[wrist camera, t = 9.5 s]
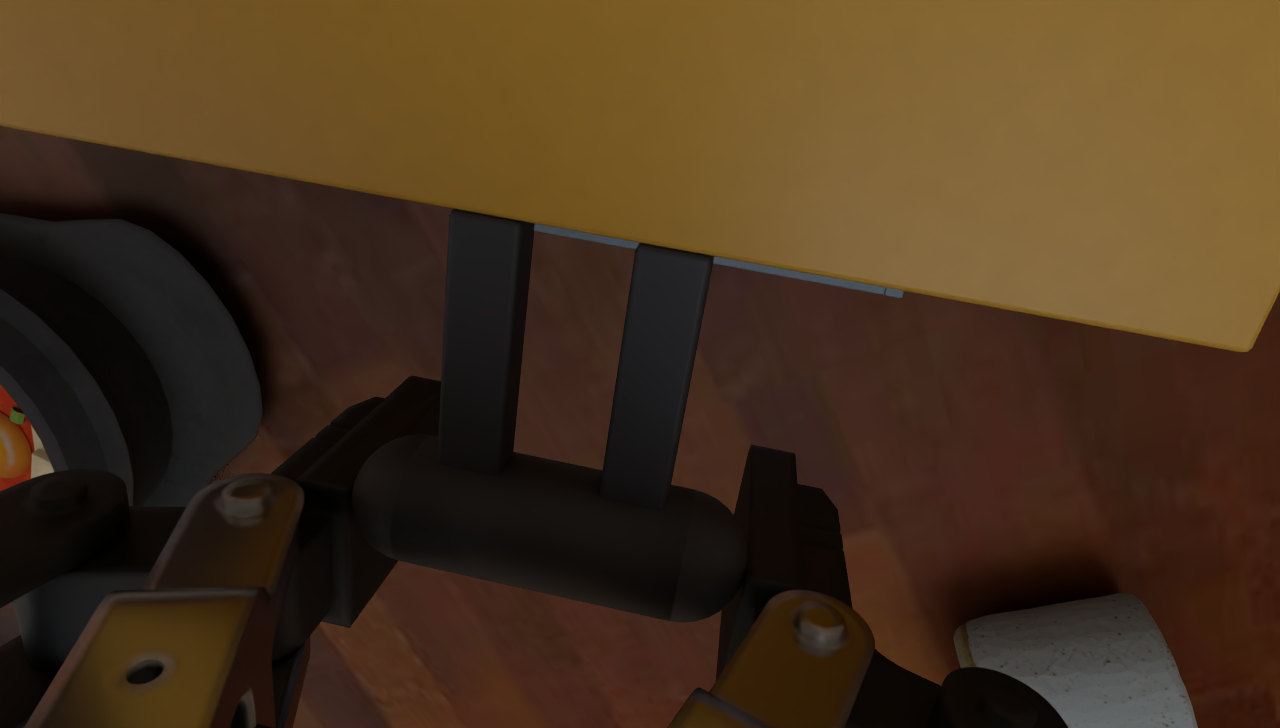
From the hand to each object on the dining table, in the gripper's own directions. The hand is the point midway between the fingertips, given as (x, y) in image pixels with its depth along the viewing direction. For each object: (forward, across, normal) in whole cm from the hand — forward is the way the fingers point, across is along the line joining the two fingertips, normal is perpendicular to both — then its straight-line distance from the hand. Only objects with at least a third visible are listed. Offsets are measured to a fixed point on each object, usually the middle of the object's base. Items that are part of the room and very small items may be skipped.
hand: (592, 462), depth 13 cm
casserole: (+21, +31, +14) cm, 40 cm away
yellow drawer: (+3, 0, -10) cm, 10 cm away
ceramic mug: (+21, -21, +18) cm, 35 cm away
